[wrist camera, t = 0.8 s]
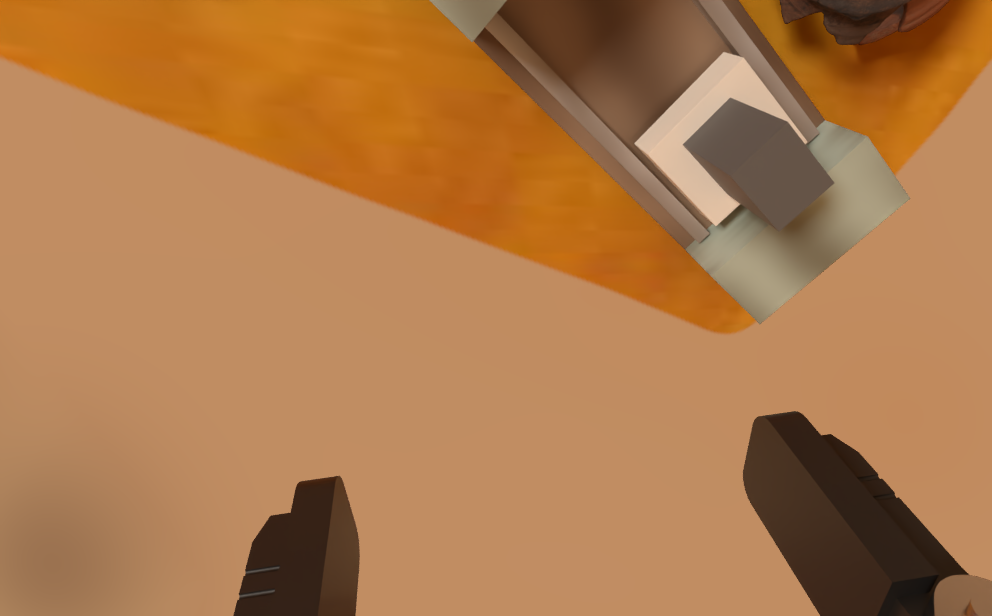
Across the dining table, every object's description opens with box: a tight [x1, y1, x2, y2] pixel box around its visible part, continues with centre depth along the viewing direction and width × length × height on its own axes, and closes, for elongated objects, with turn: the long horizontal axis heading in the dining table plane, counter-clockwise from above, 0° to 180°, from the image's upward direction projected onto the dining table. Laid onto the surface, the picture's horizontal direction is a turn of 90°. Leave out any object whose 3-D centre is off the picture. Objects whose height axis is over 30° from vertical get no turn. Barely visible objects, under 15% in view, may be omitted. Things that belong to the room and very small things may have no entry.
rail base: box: [430, 0, 910, 324], centre depth 28 cm, size 10×28×8 cm, turn 47°
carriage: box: [634, 52, 834, 232], centre depth 29 cm, size 6×6×7 cm
